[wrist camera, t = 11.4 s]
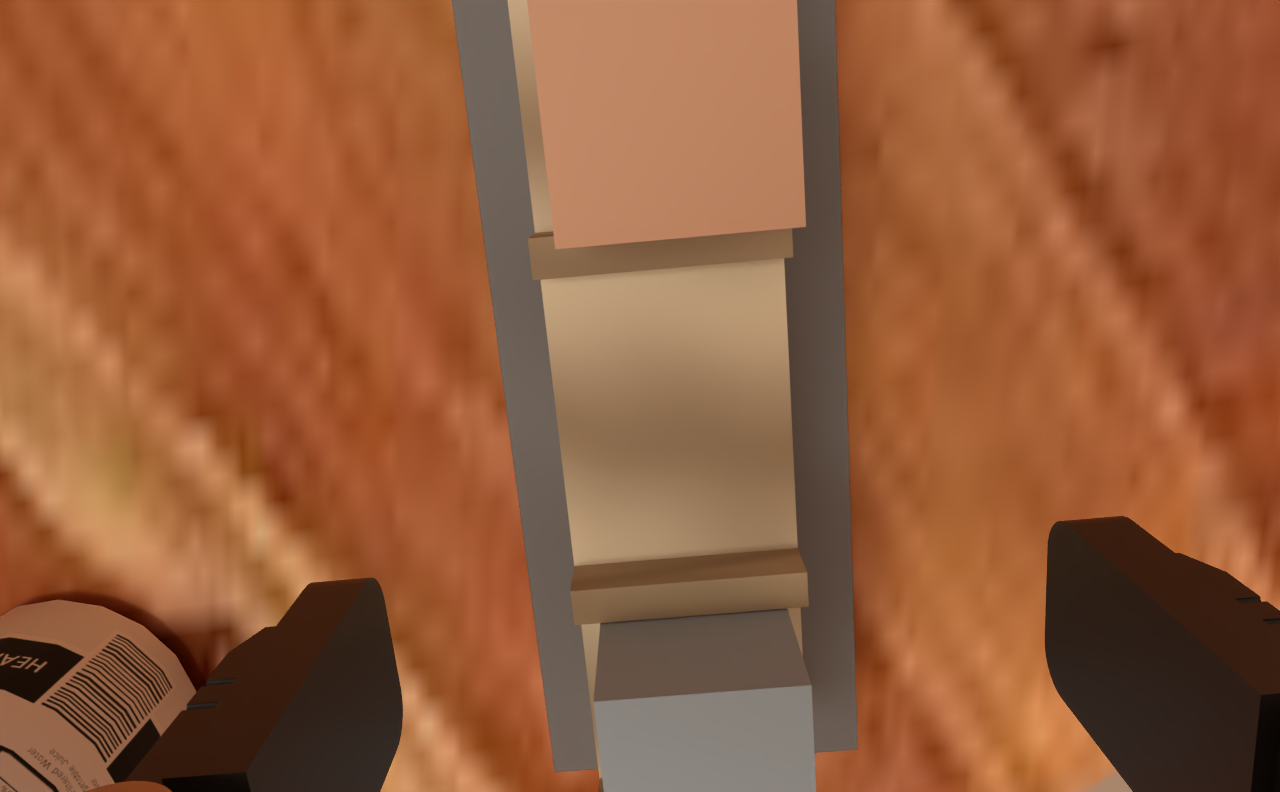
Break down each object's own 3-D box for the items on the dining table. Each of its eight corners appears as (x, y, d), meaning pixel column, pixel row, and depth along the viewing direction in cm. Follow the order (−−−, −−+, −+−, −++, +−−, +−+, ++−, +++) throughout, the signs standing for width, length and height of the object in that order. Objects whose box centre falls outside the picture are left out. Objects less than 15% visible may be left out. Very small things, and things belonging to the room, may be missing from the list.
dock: (470, -77, 25) (435, -124, 21) (797, -109, 25) (830, -164, 20) (567, 685, 31) (554, 772, 27) (827, 665, 31) (857, 749, 27)
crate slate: (602, 597, 20) (593, 702, 17) (779, 583, 20) (810, 684, 17) (619, 749, 22) (614, 880, 18) (787, 736, 21) (819, 866, 18)
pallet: (526, -40, 21) (486, -106, 16) (740, -61, 21) (776, -135, 16) (610, 707, 26) (601, 854, 21) (781, 693, 26) (819, 838, 21)
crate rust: (550, 15, 17) (525, -23, 13) (760, -4, 17) (794, -48, 13) (573, 228, 18) (554, 249, 14) (771, 210, 18) (805, 226, 14)
